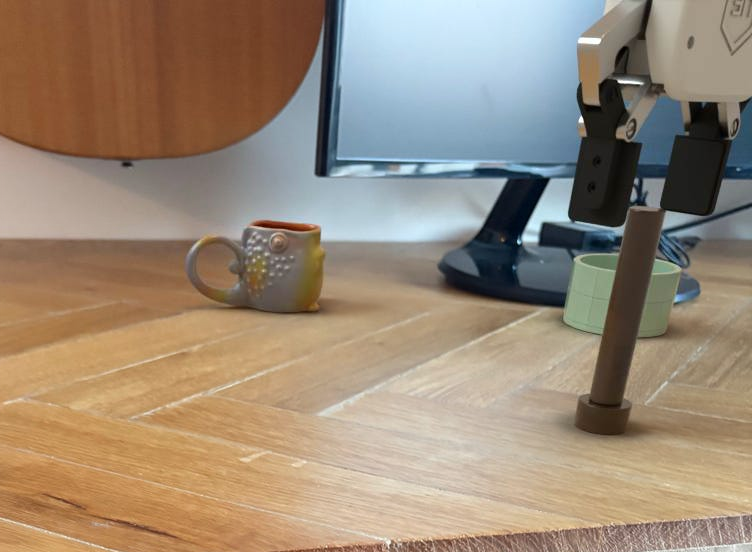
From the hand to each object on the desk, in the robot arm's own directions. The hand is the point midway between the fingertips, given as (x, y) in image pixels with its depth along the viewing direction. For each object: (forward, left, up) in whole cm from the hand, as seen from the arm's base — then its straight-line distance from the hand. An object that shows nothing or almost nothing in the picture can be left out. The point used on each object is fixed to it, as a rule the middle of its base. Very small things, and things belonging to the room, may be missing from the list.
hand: (642, 217), depth 56 cm
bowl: (-15, -25, -12) cm, 31 cm away
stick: (0, 0, -12) cm, 12 cm away
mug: (+15, -33, -12) cm, 38 cm away
